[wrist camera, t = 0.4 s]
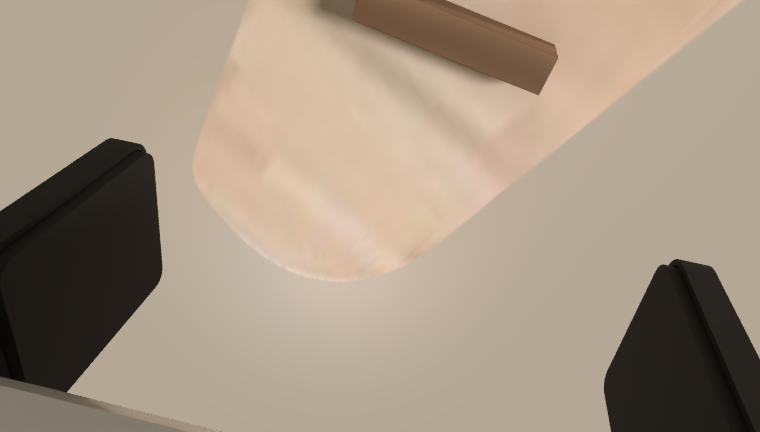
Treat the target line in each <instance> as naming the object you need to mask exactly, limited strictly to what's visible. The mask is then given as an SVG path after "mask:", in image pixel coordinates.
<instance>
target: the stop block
mask: <svg viewBox="0 0 760 432" xmlns="http://www.w3.org/2000/svg"><path fill="white" fill-rule="evenodd" d="M352 20H354V21H357V22H359V23H362V24H364V25H367V26H369V27H372V28H374V29H377V30H379V31H381V32H384V33H386V34H389V35H391V36H394V37H396V38H399V39H401V40H404V41H406V42H409V43H411V44H413V45H416V46H418V47H421V48H423V49H426V50H428V51H431V52H433V53H436V54H438V55H441V56H443V57H445V58H448V59H450V60H453V61H455V62H458V63H460V64H463V65H465V66H468V67H470V68H473V69H475V70H477V71H480V72H482V73H485V74H487V75H490V76H492V77H495V78H497V79H500V80H502V81H505V82H507V83H509V84H512V85H514V86H517V87H519V88H522V89H524V90H527V91H529V92H532V93H534V94H537V95H539V94H540V92H541V90H542V88H543V86H544V84H545V82H546V80H547V78H548V76H549V75H550V73H551V71H552V69H553V67H554V65H555V63H556V61H557V59H558V55H557V52H556V48H555V45H554V44H551V43H549V42H547V41H544V40H542V39H539V38H537V37H534V36H532V35H529V34H527V33H524V32H522V31H520V30H517V29H515V28H512V27H510V26H507V25H505V24H502V23H500V22H498V21H495V20H493V19H490V18H488V17H485V16H483V15H480V14H478V13H475V12H473V11H471V10H468V9H466V8H463V7H461V6H458V5H456V4H453V3H451V2H448V1H446V0H357V3H356V6H355V10H354V13H353V16H352Z"/></svg>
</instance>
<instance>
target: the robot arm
mask: <svg viewBox="0 0 760 432" xmlns="http://www.w3.org/2000/svg"><path fill="white" fill-rule="evenodd" d="M161 275H162V256H161V244H160V232H159V219H158V207H157V194H156V181H155V170H154V160H153V157H152V156H151V155H150V154H148V153H146V150H145V148H144V147H143V146H142V145H141V144H137V143H133V142H128V141H123V140H119V139H113V138H110V139H107V140H105V141H104V142H102V143H101V144H99V145H98V146H97V147H95V148H93V149H92V150H91V151H89V152H88V153H86V154H85V155H83V156H82V157H80V158H79V159H77V160H76V161H74V162H73V163H71V164H70V165H68V166H67V167H65V168H64V169H62V170H61V171H59V172H58V173H56V174H55V175H53V176H52V177H51V178H49V179H47V180H46V181H45V182H43V183H41V184H40V185H38V186H37V187H36V188H34V189H33V190H31V191H30V192H28V193H27V194H25V195H24V196H22V197H21V198H19V199H18V200H16V201H15V202H13V203H12V204H10V205H9V206H7V207H6V208H4V209H3V210H1V211H0V432H220V431H216V430H212V429H208V428H205V427H201V426H196V425H192V424H188V423H184V422H181V421H177V420H173V419H169V418H165V417H161V416H157V415H153V414H149V413H145V412H141V411H137V410H133V409H129V408H125V407H121V406H117V405H113V404H110V403H106V402H102V401H97V400H93V399H90V398H86V397H82V396H78V395H74V394H70V393H67V391H68V390H69V389H70V388H71V387H72V385H73V384H74V383H75V382H76V381H77V380H78V378H79V377H80V376H81V375H82V374H83V372H84V371H85V370H86V369H87V368H88V367H89V365H90V364H91V363H92V362H93V361H94V359H95V358H96V357H97V356H98V355H99V354H100V352H101V351H102V350H103V349H104V348H105V346H106V345H107V344H108V343H109V342H110V341H111V339H112V338H113V337H114V336H115V334H116V333H117V332H118V331H119V330H120V329H121V328H122V326H123V325H124V324H125V323H126V322H127V320H128V319H129V318H130V317H131V316H132V314H133V313H134V312H135V311H136V310H137V309H138V307H139V306H140V305H141V304H142V303H143V302H144V300H145V299H146V298H147V297H148V295H149V294H150V293H151V292H152V291H153V290H154V289H155V287H156V286H157V285H158V283H159V281H160V278H161ZM604 394H605V400H606V405H607V410H608V416H609V422H610V427H611V432H760V359H759V357H758V355H757V353H756V351H755V349H754V347H753V345H752V343H751V341H750V339H749V337H748V335H747V333H746V331H745V329H744V327H743V325H742V323H741V321H740V319H739V317H738V316H737V313H736V312H735V310H734V308H733V306H732V304H731V302H730V300H729V298H728V296H727V294H726V292H725V290H724V288H723V286H722V284H721V282H720V280H719V278H718V276H717V274H716V272H715V270H714V269H713V268H712V267H710V266H706V265H702V264H698V263H693V262H688V261H684V260H679V259H675V260H673V261H672V262H671V263H670V264H669V266H668V265H660V266H659V267H658V268H657V270H656V272H655V274H654V276H653V278H652V280H651V282H650V284H649V286H648V288H647V290H646V293H645V295H644V296H643V299H642V301H641V303H640V305H639V307H638V309H637V311H636V313H635V315H634V317H633V319H632V321H631V323H630V325H629V327H628V329H627V332H626V334H625V336H624V338H623V340H622V342H621V344H620V346H619V348H618V350H617V352H616V355H615V356H614V358H613V360H612V362H611V365H610V367H609V369H608V371H607V373H606V377H605V382H604Z"/></svg>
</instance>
